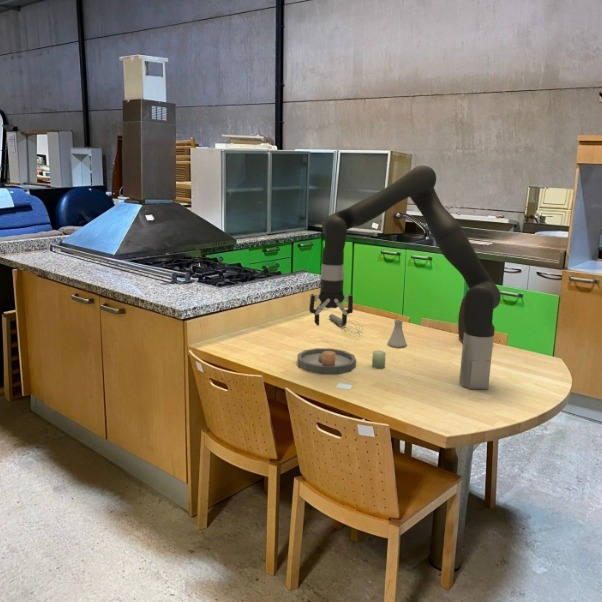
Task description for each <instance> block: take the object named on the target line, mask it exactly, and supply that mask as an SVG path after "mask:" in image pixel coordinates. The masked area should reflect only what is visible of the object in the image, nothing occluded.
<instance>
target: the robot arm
mask: <svg viewBox="0 0 602 602" xmlns="http://www.w3.org/2000/svg"><path fill="white" fill-rule="evenodd" d="M436 183H437V173H436V172H435V170H434V169H433V168H432V167H430V166H427V165H417V166H415V167H413V168H412V169H411V170H410V171H408V172H407V173H406V174H404V175H403V176H402V177H400V178H399V179H397V180H396V181H395V182H393V183H392V184H390V185H388V186H386V187H384V188H382V189H381V190H379V191H377V192H375V193H373V194H372V195H370V196H368V197H365V198H363V199H361V200H360V201H357V202H356V203H354V204H352V205H350V206H349V207H348V208H345V209H342V210H339V211H337V212H335V213H332V214H330V215H328V216H327V217H325V218H324V220H323V221H322V224H321V230H322V232H323V233H324V236H325V237H324V247H323V249H322V253H321V254H322V256H321V268H320V285H319V286H320V287H319V289H320V290H319V294H314V293H311V294H310V297H309V298H310V300H309V310H308V311H309V314H314V324H315V325H316V326H318V327H319V326H320V313H321V312H322V311H323V310H324V309H325V308H326V309H331V308H333V309H337V308H338V309H340V311H341V312H342V313H341V319H342V326H344V327H345V324H346V325H347V324H348V315H349V314H352V313H353V312H354V311H353V310H354V308H353V307H354V306H353V304H354V303H353V301H354V300H353V296H352V294H351V293H349V294H345V295H344V279H345V269H344V261H345V260H344V258H345V252H344V251H345V247H346V246H345V245H346V240H347V235H348V234H347V233H348V232H347V231H348V230H350V229H352V228H354V227H355V228H356V227H360V226H363V225H365V224H367V223H369V222H370V221H373V220H374V219H376V218H378V217H379V216H381V215H382V214H384V213H386V211H388V210H390V209H391V208H393V207H395V205H397V204H398V203H400V202H402V201H403V200H406V199H408V198H410V200H412V203H413V204H414V205H415V207H416V208H417V209H418V210H419V212H420V214H421V215H422V217H423V219H424V221H425V224H426V226H427V227H428V230H429V231H430V233H431V235H432V237H433V239H434V241H435V243H436V245H437V247H438V248H439V250H440V252H441V254H442V255H443V257H444V258H445V259H446V260H447V261H448V262H449V264H451V266H452V267H454V268H455V270H457V271H458V272H459V273H460V275H461V276H462V278H463V279H464V281H465V283H466V286H467V287H468V289H467V291H466V293H465V295H464V296H465V300H464V312H463V324H464V338H463V342H462V349H461V358H460V370H459V371H460V372H459V380H458V383H459V385H461V386H463V387H465V388H467V389H469V390H488V389H489V385H490V377H491V366H492V365H491V364H492V357H493V356H492V355H493V348H494V337H495V331H496V330H495V329H496V327H495V325H494V324H493V320H494V319H493V317H494V310H495V309H496V308H497V307H499V305H500V303H501V298H502V297H501V296H502V295H501V292H500V290H499V288H498V286H497V285H496V283H495V282H494V281H493V279H492V278H491V276H490V275H489V274H488V273H489V272H487V270H486V269H485V267H484V266H483V265H482V263H481V260H480V259H479V257H478V255H477V253H476V251H475V249H474V248H473V246H472V244H471V241H470V239H469V238H468V235H467V234H466V232H465V231H464V229H463V227H462V226H461V224H460V222H459V220H457V219H456V218H455V217H454V216H453V215H452V214H451V213H450V212H449V211H448V210H447V208H445V206H444V205H443V203H442V202H441V200H440V199H439V196H438V194H437V192H436V188H435V186H436ZM317 300H319V301H320V303H319V304H318V306H317V307H316V309H315V302H317ZM344 300H345V301H346V302H347V309H345V307H344V306H343V304H342V303H343V301H344ZM342 326H341V327H342Z"/></svg>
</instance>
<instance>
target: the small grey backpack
mask: <svg viewBox="0 0 602 602" xmlns="http://www.w3.org/2000/svg"><path fill="white" fill-rule="evenodd" d="M464 300H465V295H464V296H463V297H462V299H461V302H460V306H459V312H458V318H457V319H458V320H457V322H458V323H457V327H458V328H457V330H458V331H457V332H458V339H459V340H460V341H461V342H462V343H463V338H464V324H463V312H464Z"/></svg>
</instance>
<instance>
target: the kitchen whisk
mask: <svg viewBox="0 0 602 602" xmlns="http://www.w3.org/2000/svg"><path fill="white" fill-rule="evenodd" d="M328 318H330V319H329V320H330V321H332V322H333V323H335V324H338V325H339V326H341V327H342V329H343V330H344V331H345V333H347V334H349V335H351V332H346V331H347V330H348V331H349V330H352V329H353V330H354V333H353V335H355V336H354V338H356V337H358V338H360V337H361V334H362V331H363V330H364V328H362V329H361V328H359V329H358V327H357V326H359V327H362V325H360V323H358V324H357V321H356V320H354V322H356V323H353V321H351V320H348V323H350V324H351V325H354V326H355V327H356V328H355V327H353V326H351V325H349V326H347V323H346V324H345V326H342V317H341V318H340V317H339V316H338V315H335V314H333V313H331V314H329V316H328ZM346 328H347V330H346ZM360 329H361V330H360ZM355 332H356V333H355ZM358 335H359V336H358Z"/></svg>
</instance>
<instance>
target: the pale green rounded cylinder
mask: <svg viewBox="0 0 602 602" xmlns="http://www.w3.org/2000/svg"><path fill="white" fill-rule="evenodd" d="M386 355H387V354H386V351H383V350H374V351H373V352H372V359H371V360H372V361H371V362H372V363H371V367H372V368H374V369H384V368H385V366H386Z"/></svg>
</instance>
